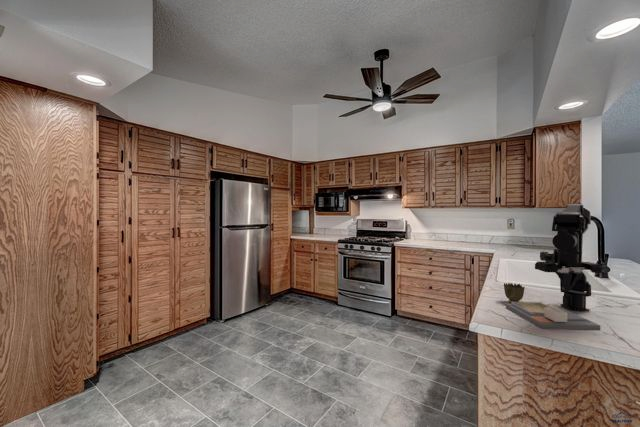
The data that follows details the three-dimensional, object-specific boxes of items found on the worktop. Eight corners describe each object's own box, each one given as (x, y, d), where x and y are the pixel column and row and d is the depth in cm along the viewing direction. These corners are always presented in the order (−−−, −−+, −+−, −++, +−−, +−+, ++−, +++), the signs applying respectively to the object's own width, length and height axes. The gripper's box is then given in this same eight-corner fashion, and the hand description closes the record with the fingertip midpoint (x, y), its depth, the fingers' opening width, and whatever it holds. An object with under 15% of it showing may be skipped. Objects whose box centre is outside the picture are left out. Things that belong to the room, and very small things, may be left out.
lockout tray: (540, 305, 113) (540, 302, 113) (564, 316, 101) (564, 312, 101) (511, 304, 113) (511, 301, 113) (531, 315, 102) (531, 312, 102)
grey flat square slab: (553, 308, 113) (553, 304, 113) (600, 329, 93) (600, 325, 93) (506, 307, 114) (506, 303, 114) (541, 328, 94) (542, 323, 94)
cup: (528, 306, 115) (528, 287, 115) (508, 305, 116) (508, 286, 116) (518, 300, 122) (519, 283, 122) (500, 299, 124) (500, 282, 124)
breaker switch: (555, 316, 100) (555, 305, 100) (567, 322, 95) (567, 310, 95) (544, 316, 100) (544, 304, 100) (555, 321, 95) (555, 309, 95)
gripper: (575, 244, 105) (575, 285, 105) (524, 244, 106) (524, 284, 106) (604, 248, 94) (603, 294, 94) (546, 248, 95) (546, 293, 95)
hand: (567, 291), depth 98 cm, fingers closed
